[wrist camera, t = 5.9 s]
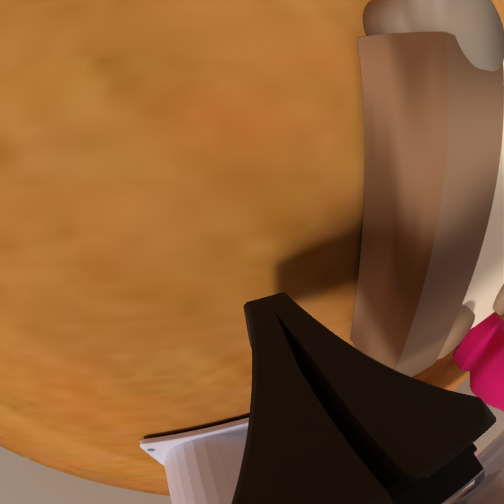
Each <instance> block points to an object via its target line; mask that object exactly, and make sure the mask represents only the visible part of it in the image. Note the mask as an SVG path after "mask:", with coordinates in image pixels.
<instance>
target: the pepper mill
mask: <svg viewBox="0 0 504 504" xmlns="http://www.w3.org/2000/svg"><path fill="white" fill-rule="evenodd" d="M503 329H504V321H503V320H502V319H501V318H500V317H499V316H498V315H497V314H496V313H495V312H494V313H492V314H491V315H490V316H488V317H487V318H486V319H484V320H483V321H482V322H480V323H479V324H477V325H476V326H475V327H473V328H472V329H470V331H469V332H468V334H467V335H466V336H465V338H464V339H463V340H462V341H461V343H460V344H459V345H458V347H457V349H456V351H455V353H454V355H453V361H454V362H455V363H456V365H457V366H458V367H459V368H460V369H461V371H463V372H464V371H468V370H469V371H470V388H471V391H472V392H473V393H474V394H475V395H476V397H479V398H481V399H482V400H483V402H484V403H486V404H488V405H490V406H493V407H495V408H498V409H500V410H502V411H504V330H503Z"/></svg>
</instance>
